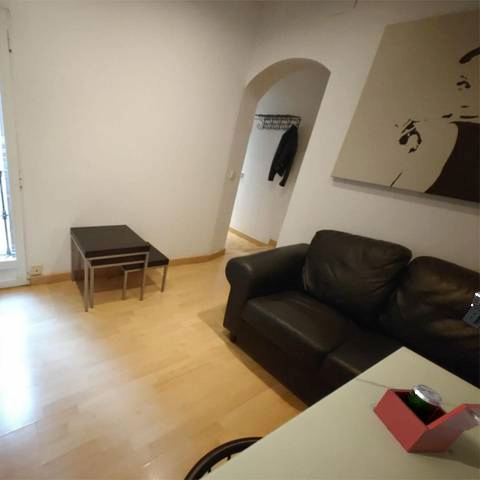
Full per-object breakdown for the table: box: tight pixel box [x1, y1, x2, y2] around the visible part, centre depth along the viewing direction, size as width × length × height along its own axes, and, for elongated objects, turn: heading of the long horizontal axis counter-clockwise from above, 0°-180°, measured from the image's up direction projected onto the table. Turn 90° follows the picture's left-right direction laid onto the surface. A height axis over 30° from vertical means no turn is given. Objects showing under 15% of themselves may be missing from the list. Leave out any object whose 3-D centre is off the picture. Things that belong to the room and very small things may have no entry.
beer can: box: [403, 383, 444, 424], centre depth 67 cm, size 5×5×12 cm
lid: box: [427, 403, 480, 431], centre depth 56 cm, size 11×11×5 cm
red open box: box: [372, 388, 466, 453], centre depth 67 cm, size 10×11×9 cm
